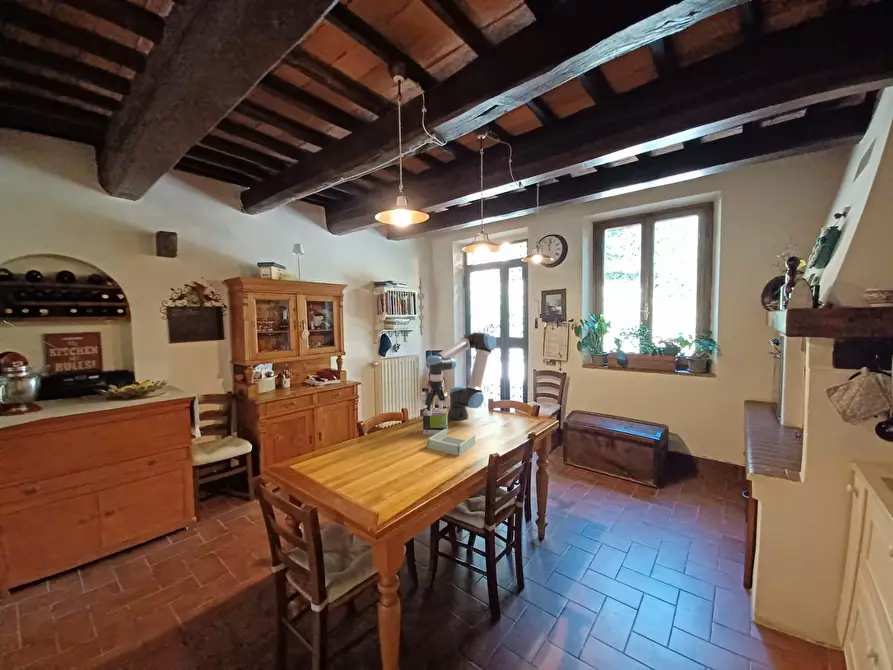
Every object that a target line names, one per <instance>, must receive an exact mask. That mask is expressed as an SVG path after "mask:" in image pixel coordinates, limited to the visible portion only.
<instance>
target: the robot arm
mask: <svg viewBox="0 0 893 670" xmlns="http://www.w3.org/2000/svg"><path fill="white" fill-rule="evenodd" d="M496 348H497V338H496V337H495V335H493V334H492V333H486V332H485V333H484V332H473V333H470V334H467V335H466V336H463V337H462V338H460V340H459V341H458V342H456V343H454V344H452V345H451V346H449V347H447V348H445V349H443V350H442V351H440V352H438V353H437V354H435V355H428V356H427V357H426V359H425V360H426V362H425V363H426V365H427V366H429V380H430V381H429V386H430V389H429V388H428V389H427V395H426V400H425V402H424V405H425V406H426V409H427V415H429V416H432V409H433V408H432V407H433V406H432V404H433V400H434V398H435V397H436V396H437V398H438V409H444V408H443V407H444V406H443V404H444V401H445V399H446V397H445V393H444V390H443V386H442V381H443V380H442V379H443V378H442V374H443V373H442V372H443V371H446V370H447V371H448V370H449V371H450V370H453V369H455V368H456V367H457V361H456V359H455V358H454V357H455V356H457V355H459V354H461V353H462V352H464V351H468V350H470V349H474V350H475V352H476V354H475V358H474V362H473V365H472V366H473V367H472V371H471V375H470V378H469V383H468V384H467V386H465V385H456V386H452V387H451V388H450V391H449V408H448V411H447V419H449V420H452V421H464V420H468V418H469V413H468V409H467V408H471V409H479V408H480V407H481V406H482V405H483V404H484V400H485V397H484V393H483V390H482V388H481V387H482V384H483V383H482V382H483V378H484V374H485V372H486V371H485V370H486V366H487V363H488V362H487V361H488V357H489V355H491V354H492V351H494V350H495V349H496Z"/></svg>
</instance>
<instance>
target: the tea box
mask: <svg viewBox="0 0 893 670" xmlns="http://www.w3.org/2000/svg"><path fill="white" fill-rule="evenodd" d="M423 410H424V411H423V412H422V430H423V431H422V434H423V435H425V436H434V435H435V434H437V433H439V432H441V431H442V430H444V429H447V431H448V430H449V429H448V419H449V418H448V409H447V408H443V409H439V408H432V416H429V415H427V408H424V409H423Z"/></svg>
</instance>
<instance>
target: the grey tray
mask: <svg viewBox="0 0 893 670" xmlns="http://www.w3.org/2000/svg"><path fill="white" fill-rule="evenodd" d="M447 433H448V430H447V429H444V430H442V431H441V432H439V433H437V434H435V435H431V436H430V437H428V438H427V449H430V450H433V451H438V452H440V453H441V452H442V453H445V454H449V455H453V456H458V457H460V456H461V455H463V454H464V453H465V452H467V451H468V450H470V449H471V448H472V447H474V446H475V444H476V434H472V435H471V436H470V437H468V438H467V439H466V440H464V439H461V438H455V437H452V436H447V435H448V434H447Z"/></svg>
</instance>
